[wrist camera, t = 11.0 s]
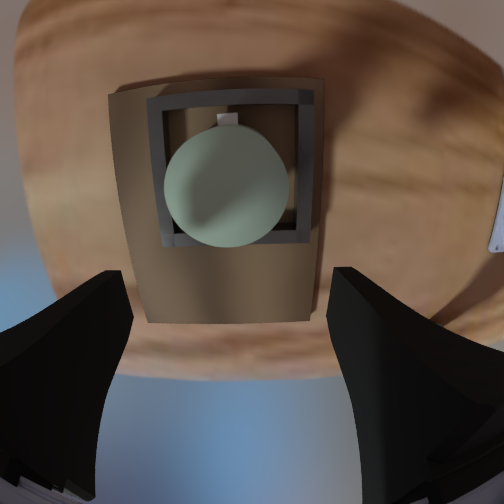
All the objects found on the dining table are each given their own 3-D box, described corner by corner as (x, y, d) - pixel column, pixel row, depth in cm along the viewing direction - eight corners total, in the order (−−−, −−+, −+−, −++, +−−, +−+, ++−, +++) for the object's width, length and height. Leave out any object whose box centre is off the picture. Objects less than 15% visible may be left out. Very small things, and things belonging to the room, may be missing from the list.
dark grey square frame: (309, 91, 14) (314, 89, 12) (305, 234, 17) (309, 242, 16) (153, 99, 14) (146, 98, 12) (167, 238, 17) (162, 247, 16)
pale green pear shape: (277, 214, 17) (289, 256, 12) (194, 220, 17) (176, 262, 12) (274, 110, 14) (286, 109, 9) (183, 118, 14) (155, 121, 10)
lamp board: (320, 80, 14) (323, 78, 13) (308, 315, 21) (309, 320, 21) (112, 94, 14) (108, 94, 13) (149, 317, 21) (147, 322, 20)
